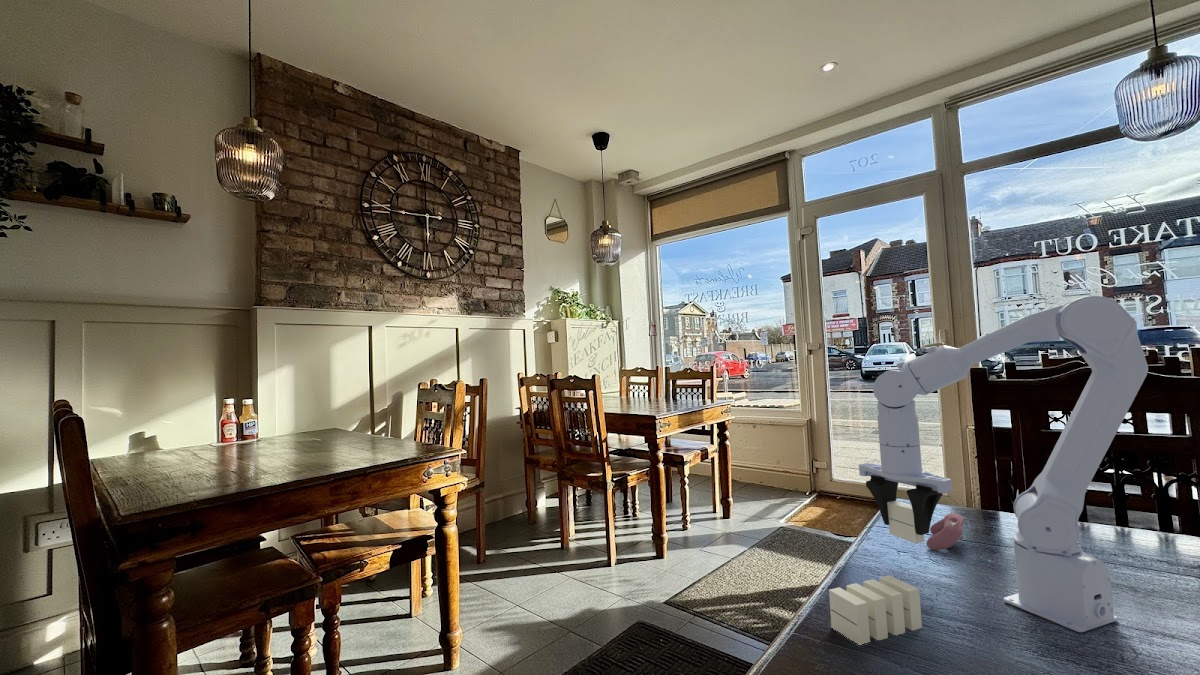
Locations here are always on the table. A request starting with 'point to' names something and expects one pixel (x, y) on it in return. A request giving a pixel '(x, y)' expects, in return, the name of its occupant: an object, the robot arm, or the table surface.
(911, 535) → the domino
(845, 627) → the domino
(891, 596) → the domino
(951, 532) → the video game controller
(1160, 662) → the table surface
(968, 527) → the table surface
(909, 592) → the domino
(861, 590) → the domino
